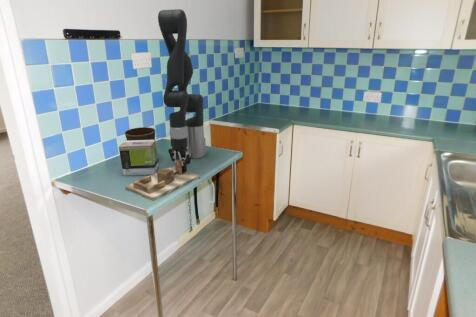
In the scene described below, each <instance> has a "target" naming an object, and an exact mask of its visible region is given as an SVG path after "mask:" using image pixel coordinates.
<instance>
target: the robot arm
mask: <svg viewBox="0 0 476 317" xmlns="http://www.w3.org/2000/svg"><path fill="white" fill-rule="evenodd" d="M157 22H158V27H159V29H160V33H161V35H162V38H163V40H164V44H165V46H166V49H167V54H168V56H169V57H168V60H167V62H166V85H165V90H164V94H163V98H162V100H163V103H164V106H165V107H167V108H179V110H178V111H174V112H171V113H169V117H168V118H169V119H168V120H169V135H170V136H169V137H170V147H171V148H169V149H168V150H167V152H168V153H169V157H170V160H171V162H174V164H175V165H176V159H178V158H179V159H180V161H181V164H182V173H185V172H186V171H188V167H187V165H190V164H191V161H192V159H195V160H196V159H201V158H204V157H205V156H206V155H207V144H206V142H207V141H206V137H205V130H204V129H205V127H204V98H203V96H202V94H197V93H188V89H187V88H188V86H189V83H190V82H191V80H192V77H193V74H194V69H193V63H192V58H191V57H190V56H189V54H188V53H187V52H186V50H185V49H186V41H187V32H188V19H187V15H186V11H184V10H183V9H176V8H175V9H162V10H160V11H159V12H158V14H157ZM174 35H177V38H175V36H174ZM176 86H177V90H174V88H175V87H176ZM186 113H195V115H194V116H192V117H189V118H186V115H187V114H186ZM175 167H176V166H175ZM176 171H177V167H176Z"/></svg>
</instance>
